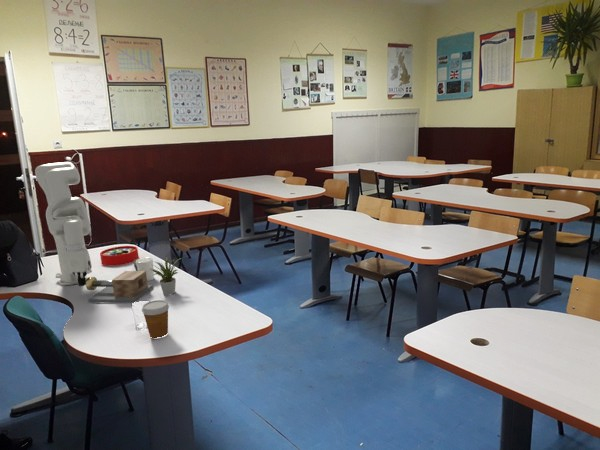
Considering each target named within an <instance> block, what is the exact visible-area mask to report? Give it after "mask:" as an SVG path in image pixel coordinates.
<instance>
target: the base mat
mask: <svg viewBox="0 0 600 450" xmlns="http://www.w3.org/2000/svg"><path fill="white" fill-rule="evenodd" d="M153 289H154V285H153V284H148V288H146V289H145V290H144V291H142V292H141V293H140V294H139V295H137V296H136V297H114V291H113V287H103V288H102V289H101V290H99V291H98V292H97V293H95V294H94V295H91V297H89V298H88V299H87V303H88V302H116V303H115V304H117V302H118V304H119V303H120V304H125V303H126V304H129V303H130V304H133V303H132V302H135V301H137V302H138V301H139V300H140V299H141V298H143V297H144V296H145V295H146V294H148V293H149V292H150V291H152V290H153ZM135 303H136V302H135Z"/></svg>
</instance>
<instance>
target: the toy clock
mask: <svg viewBox="0 0 600 450" xmlns="http://www.w3.org/2000/svg"><path fill="white" fill-rule="evenodd" d="M99 255H100V262H101V263H100V264H102V265H103V266H108V267H112V266H113V267H115V266H124V265H128V264H131V263H134V260H135V259H140V258H139V257H140V255H139V249H138V247H137V246H134V245H121V246H115V247H110V248H106V249H104V250H102V251H101V252H100V253H99Z"/></svg>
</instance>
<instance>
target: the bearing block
mask: <svg viewBox="0 0 600 450" xmlns="http://www.w3.org/2000/svg"><path fill="white" fill-rule="evenodd" d="M111 280H112V284H113V291H114V297H136V296H137V295H139V294H140V293H141V292H142V291H144V290H145V289H146V288H148V285H149V284H148V281H147V277H146V271H137V270H124V271H123V272H121V273H120V274H119V275H117V276H115V277H114V278H113V279H111Z"/></svg>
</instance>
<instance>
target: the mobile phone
mask: <svg viewBox="0 0 600 450" xmlns="http://www.w3.org/2000/svg"><path fill="white" fill-rule="evenodd" d="M138 259H139V258H138ZM138 259H135V260H134V262H133V264H134V265H133V266H134V269H135V271H138V270H137V264H136V260H138Z"/></svg>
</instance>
